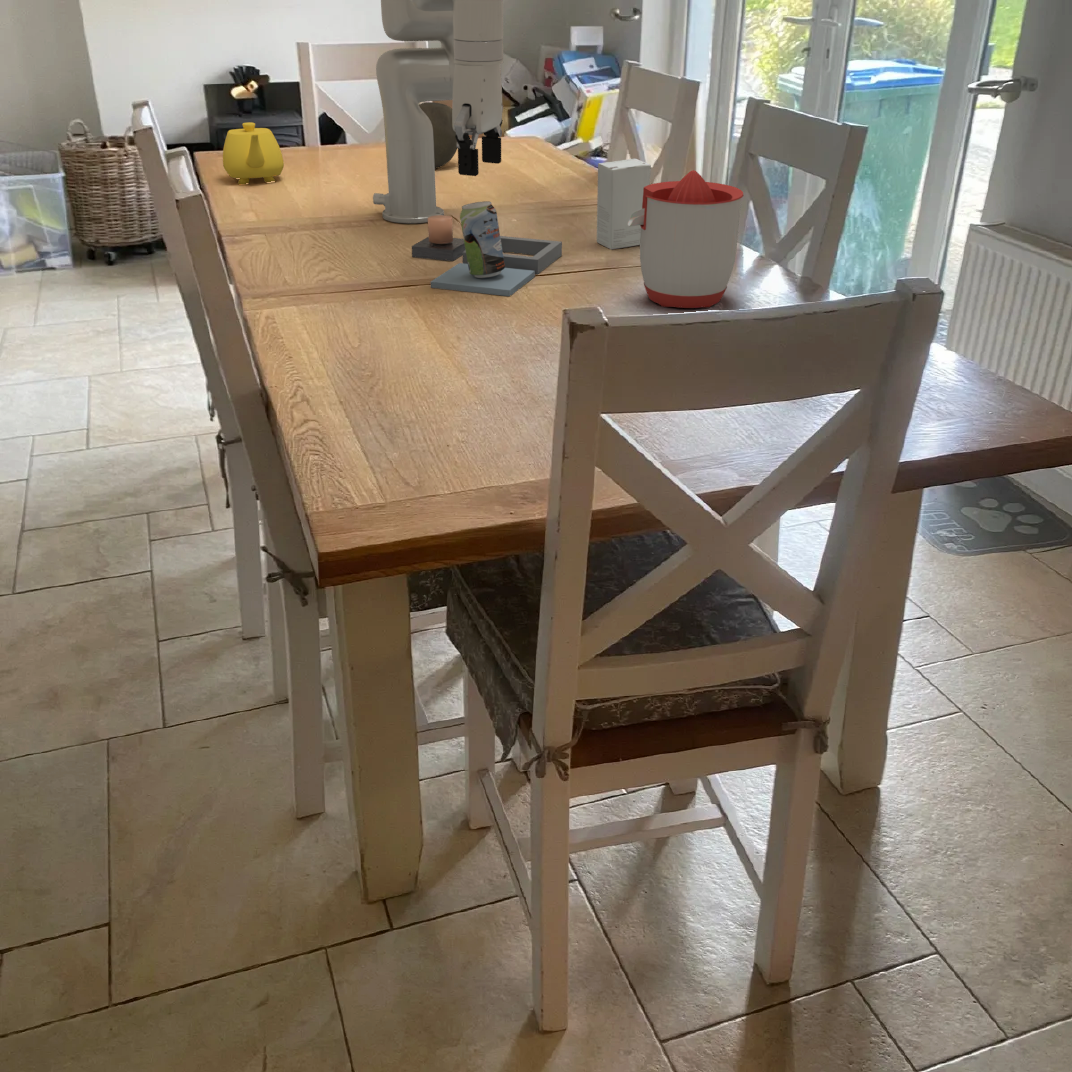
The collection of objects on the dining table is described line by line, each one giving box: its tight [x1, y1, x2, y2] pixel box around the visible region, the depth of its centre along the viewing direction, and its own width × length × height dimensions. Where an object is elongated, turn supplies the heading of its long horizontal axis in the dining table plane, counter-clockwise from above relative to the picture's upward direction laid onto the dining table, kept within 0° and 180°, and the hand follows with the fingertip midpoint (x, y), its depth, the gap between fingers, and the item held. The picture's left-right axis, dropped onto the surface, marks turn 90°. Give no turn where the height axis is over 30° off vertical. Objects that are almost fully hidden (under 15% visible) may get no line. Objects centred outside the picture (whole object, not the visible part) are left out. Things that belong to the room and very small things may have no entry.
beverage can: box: [459, 200, 505, 278], centre depth 176 cm, size 6×7×12 cm
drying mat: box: [430, 262, 536, 297], centre depth 180 cm, size 14×12×1 cm
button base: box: [411, 236, 465, 262], centre depth 195 cm, size 8×8×2 cm
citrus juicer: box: [628, 169, 744, 309], centre depth 167 cm, size 16×17×20 cm
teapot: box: [222, 121, 285, 185], centre depth 247 cm, size 14×20×13 cm
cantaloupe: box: [419, 101, 458, 169], centre depth 262 cm, size 14×14×15 cm
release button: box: [427, 214, 454, 244], centre depth 193 cm, size 4×4×4 cm
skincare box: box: [596, 158, 652, 250], centre depth 198 cm, size 8×6×15 cm
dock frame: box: [461, 235, 563, 275], centre depth 191 cm, size 14×13×2 cm
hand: (480, 168), depth 171 cm, fingers open, 9 cm apart
